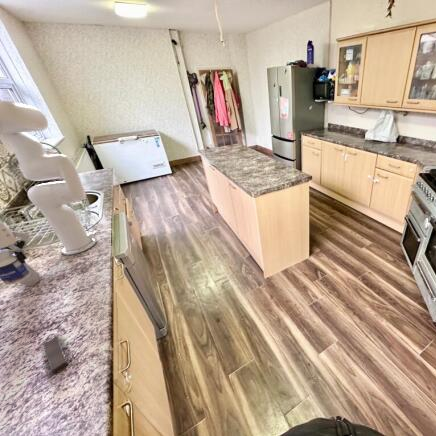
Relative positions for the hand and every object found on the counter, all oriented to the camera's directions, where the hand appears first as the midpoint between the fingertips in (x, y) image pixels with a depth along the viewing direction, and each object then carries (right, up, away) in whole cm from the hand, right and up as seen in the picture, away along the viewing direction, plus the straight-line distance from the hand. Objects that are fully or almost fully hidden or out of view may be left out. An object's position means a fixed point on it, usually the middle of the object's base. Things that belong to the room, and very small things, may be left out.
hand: (8, 266), depth 71 cm
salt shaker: (-14, -10, +20) cm, 26 cm away
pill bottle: (0, -5, +3) cm, 5 cm away
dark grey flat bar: (+22, -23, -7) cm, 33 cm away
